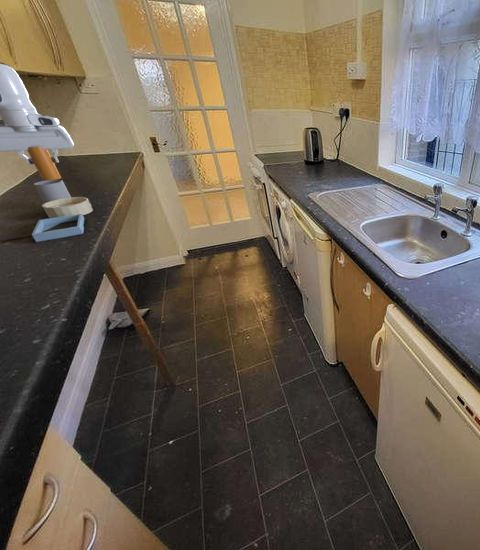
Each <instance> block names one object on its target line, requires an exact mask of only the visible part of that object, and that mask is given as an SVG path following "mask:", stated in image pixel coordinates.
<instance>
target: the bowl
mask: <svg viewBox="0 0 480 550" xmlns="http://www.w3.org/2000/svg"><path fill="white" fill-rule="evenodd" d="M41 208H42V209H43V211H44V213H45V215H46V216H47V219H48V218H55V217H62V216H69V215H75V214H82V215H83V216H86V215H87V214H90V213H92V212H93V211H94V208H93V206H92V204H91V202H90V200H89V198H88V197H84V196H71V197H70V198H62V199H57V200H53V201H49V202H46V203H44V202H43V203H42V204H41Z"/></svg>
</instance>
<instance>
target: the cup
mask: <svg viewBox="0 0 480 550" xmlns="http://www.w3.org/2000/svg"><path fill="white" fill-rule="evenodd" d="M33 186H34V188H35V190H36V191H37V193H38V195H39V196H40V198H41V200H42V201H43V204H44V203H46V202H49V201H53V200H57V199H62V198H70V197H72V196H71V194H70V192H69V190H68V189H67V186H66V185H65V183H64V181H63V179H56V180H41V181H38V182H34V183H33Z"/></svg>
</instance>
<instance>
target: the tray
mask: <svg viewBox="0 0 480 550" xmlns="http://www.w3.org/2000/svg"><path fill="white" fill-rule="evenodd" d="M75 221H77V224H76V226H72V227H66V228H60V229H53V230H49V229H52V228H53V227H55V226H56V227H57V226H58V225H60V224H62V223H70V222H75ZM84 224H85V217H84V215H82V214H75V215H69V216H62V217H55V218H48V217H47V218H43V219H38V221H37V223H36V225H35V227H34V229H33V231H32V232H31V236H32V238H33V239H34V241H35V242H36V243H39V242H44V241H49V240H56V239H63V238H67V237H72V236H73V237H74V236H77V235H78V236H79V235H83V234H84V231H85V226H84Z"/></svg>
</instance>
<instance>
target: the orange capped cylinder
mask: <svg viewBox="0 0 480 550" xmlns="http://www.w3.org/2000/svg"><path fill="white" fill-rule="evenodd" d="M28 149H29V150H26V151H27V153H28V155H29V156H30V157H29V158H31V159H32V160H33V162H34V164H33V165H34V166H35V168H36V170H37V173H38V174H39V176H40V178H41V180H42V181H47V180H61V179H62V176H61V174H60V172H59V170H58V168H57V166H56V163H53V160H52V159H51V157H52V156H51V154H50V152H49V149H43V148H42V147H28Z"/></svg>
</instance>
